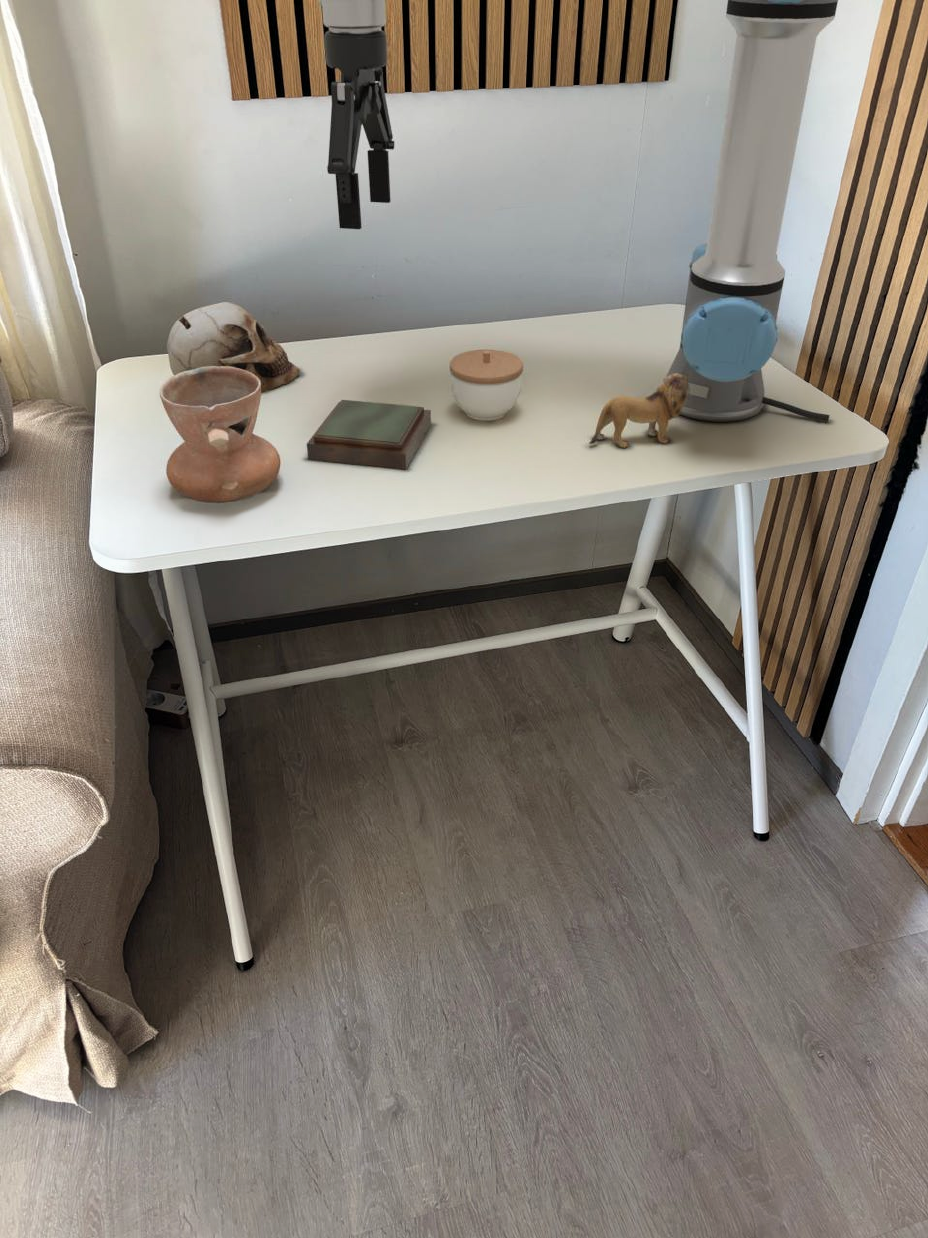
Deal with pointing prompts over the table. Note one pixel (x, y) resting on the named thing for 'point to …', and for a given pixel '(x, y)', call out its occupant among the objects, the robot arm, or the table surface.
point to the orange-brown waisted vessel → (217, 435)
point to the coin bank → (228, 345)
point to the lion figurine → (646, 409)
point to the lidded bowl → (486, 382)
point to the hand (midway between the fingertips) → (366, 214)
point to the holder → (370, 434)
